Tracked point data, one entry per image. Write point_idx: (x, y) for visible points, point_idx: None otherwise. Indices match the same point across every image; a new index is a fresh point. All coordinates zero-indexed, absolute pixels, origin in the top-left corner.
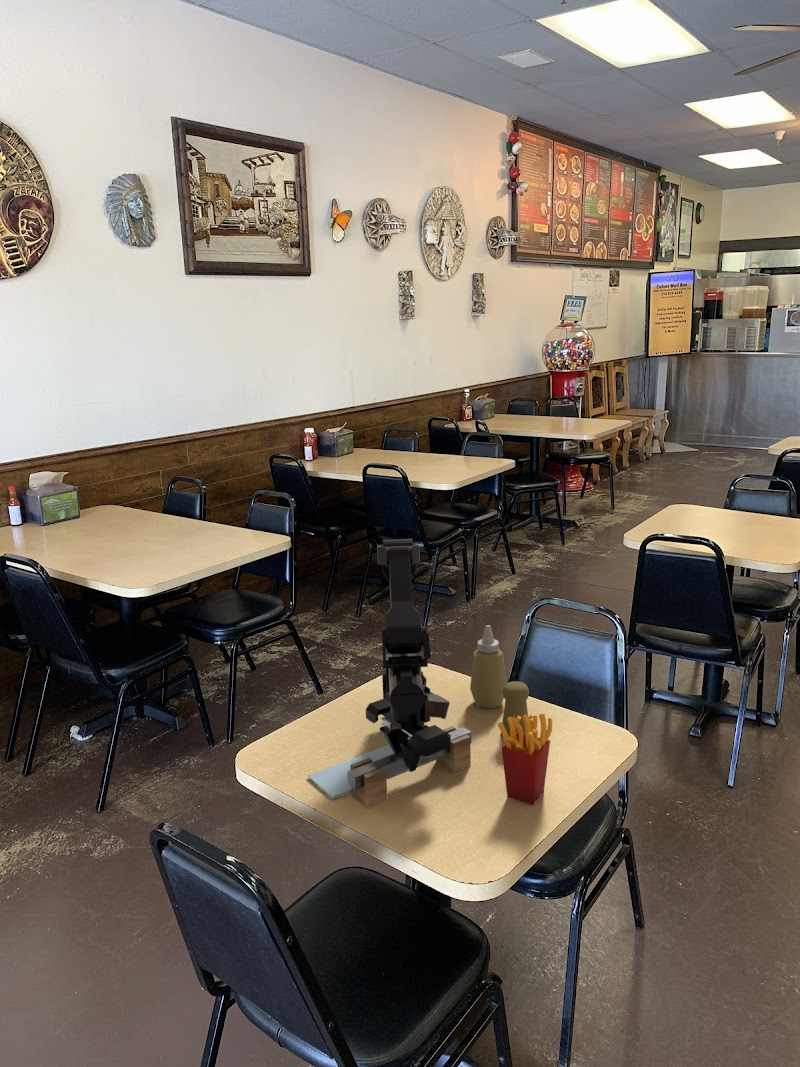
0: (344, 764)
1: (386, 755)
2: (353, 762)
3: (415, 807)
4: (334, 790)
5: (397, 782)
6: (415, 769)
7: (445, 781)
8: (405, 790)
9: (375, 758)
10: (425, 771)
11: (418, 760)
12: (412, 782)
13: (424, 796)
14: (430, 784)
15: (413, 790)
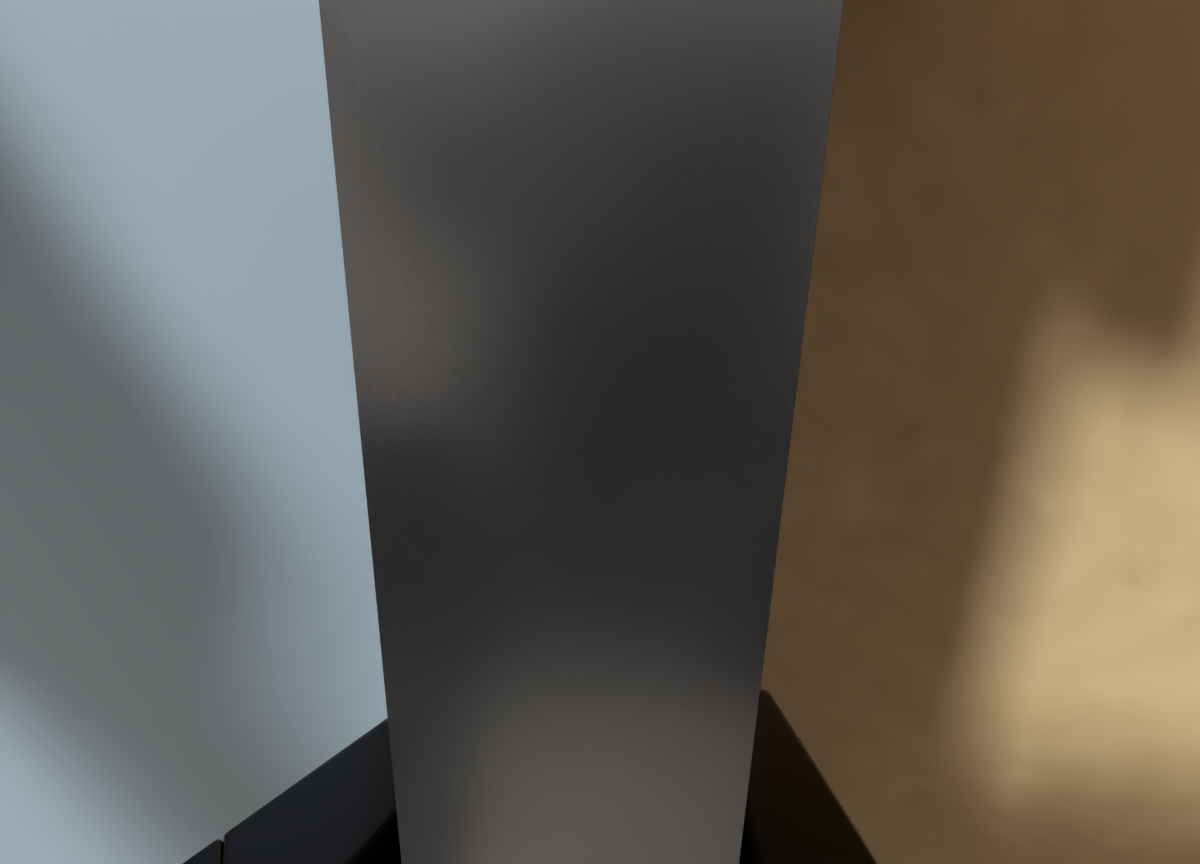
0: (22, 821)
1: (14, 431)
2: (19, 754)
3: (1122, 841)
4: None
5: None
6: (771, 701)
7: (1024, 191)
8: None
9: (30, 564)
10: None
11: (863, 852)
12: None
13: (1048, 646)
14: (901, 415)
15: (838, 646)
